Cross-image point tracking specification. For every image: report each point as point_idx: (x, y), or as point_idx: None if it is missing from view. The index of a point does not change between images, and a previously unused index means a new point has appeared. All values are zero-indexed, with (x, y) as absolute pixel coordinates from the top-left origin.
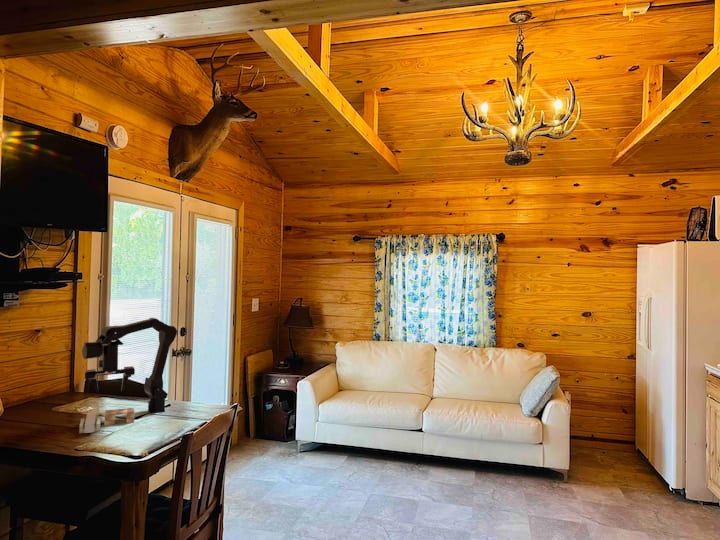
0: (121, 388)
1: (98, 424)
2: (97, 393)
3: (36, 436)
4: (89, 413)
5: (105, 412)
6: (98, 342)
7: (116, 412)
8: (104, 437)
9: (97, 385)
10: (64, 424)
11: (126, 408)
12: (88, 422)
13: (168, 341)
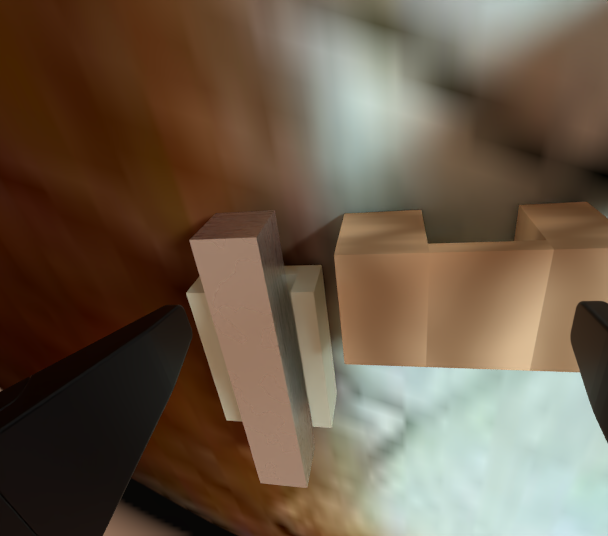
0: (599, 352)
1: (324, 424)
2: (182, 344)
3: (63, 356)
4: (217, 278)
5: (344, 323)
6: None
7: (437, 351)
8: (369, 469)
9: (109, 492)
10: (88, 191)
11: (550, 251)
12: (269, 458)
13: None
